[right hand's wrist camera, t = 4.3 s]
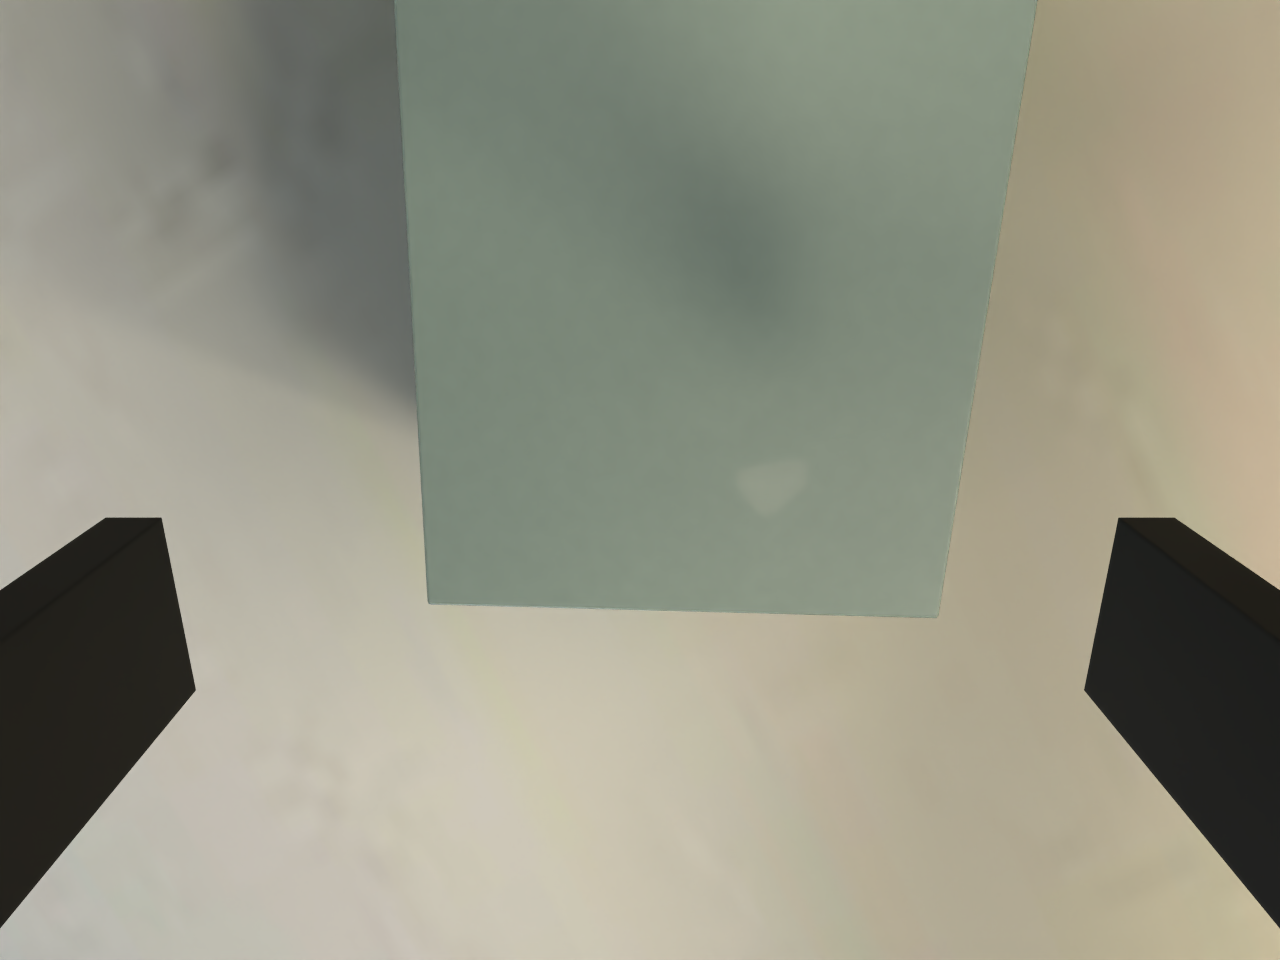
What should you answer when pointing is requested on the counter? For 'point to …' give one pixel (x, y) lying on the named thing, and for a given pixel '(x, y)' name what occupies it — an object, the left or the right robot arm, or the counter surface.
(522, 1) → the cabinet
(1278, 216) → the counter surface
